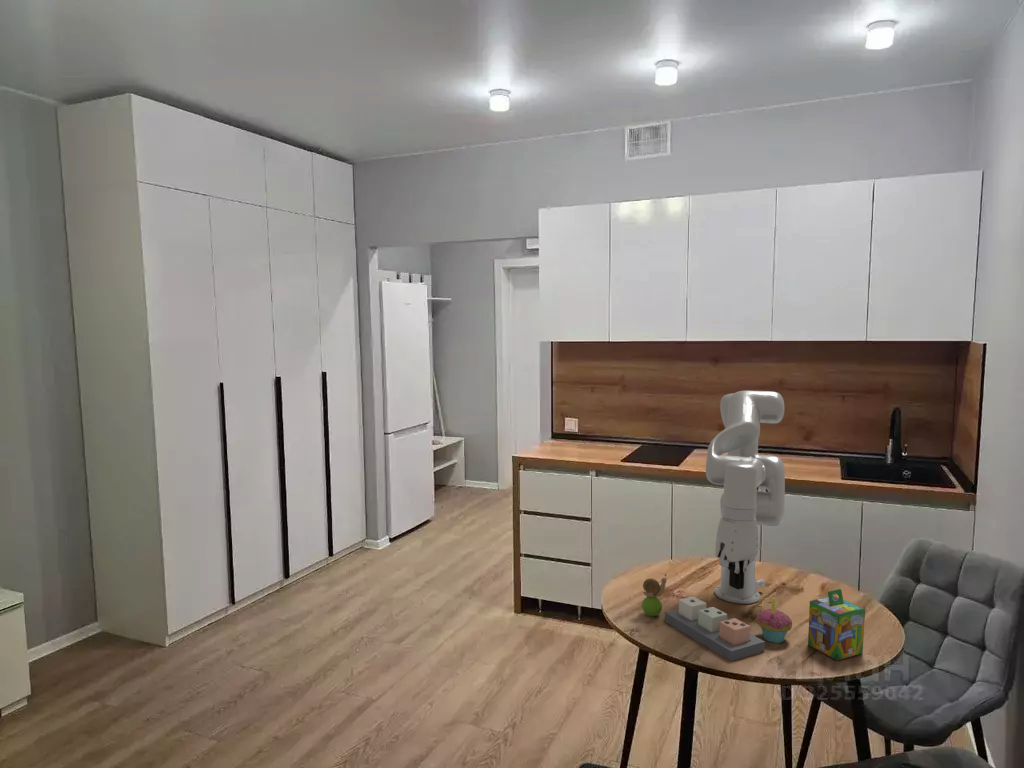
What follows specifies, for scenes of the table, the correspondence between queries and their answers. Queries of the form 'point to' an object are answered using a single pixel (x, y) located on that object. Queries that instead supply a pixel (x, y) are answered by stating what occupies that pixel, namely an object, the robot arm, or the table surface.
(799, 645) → the table surface
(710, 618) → the two pip tile
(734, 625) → the pink dice cube
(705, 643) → the button board
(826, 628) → the chalk box
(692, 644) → the table surface
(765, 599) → the table surface
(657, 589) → the snail figurine
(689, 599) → the one pip tile
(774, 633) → the cupcake
